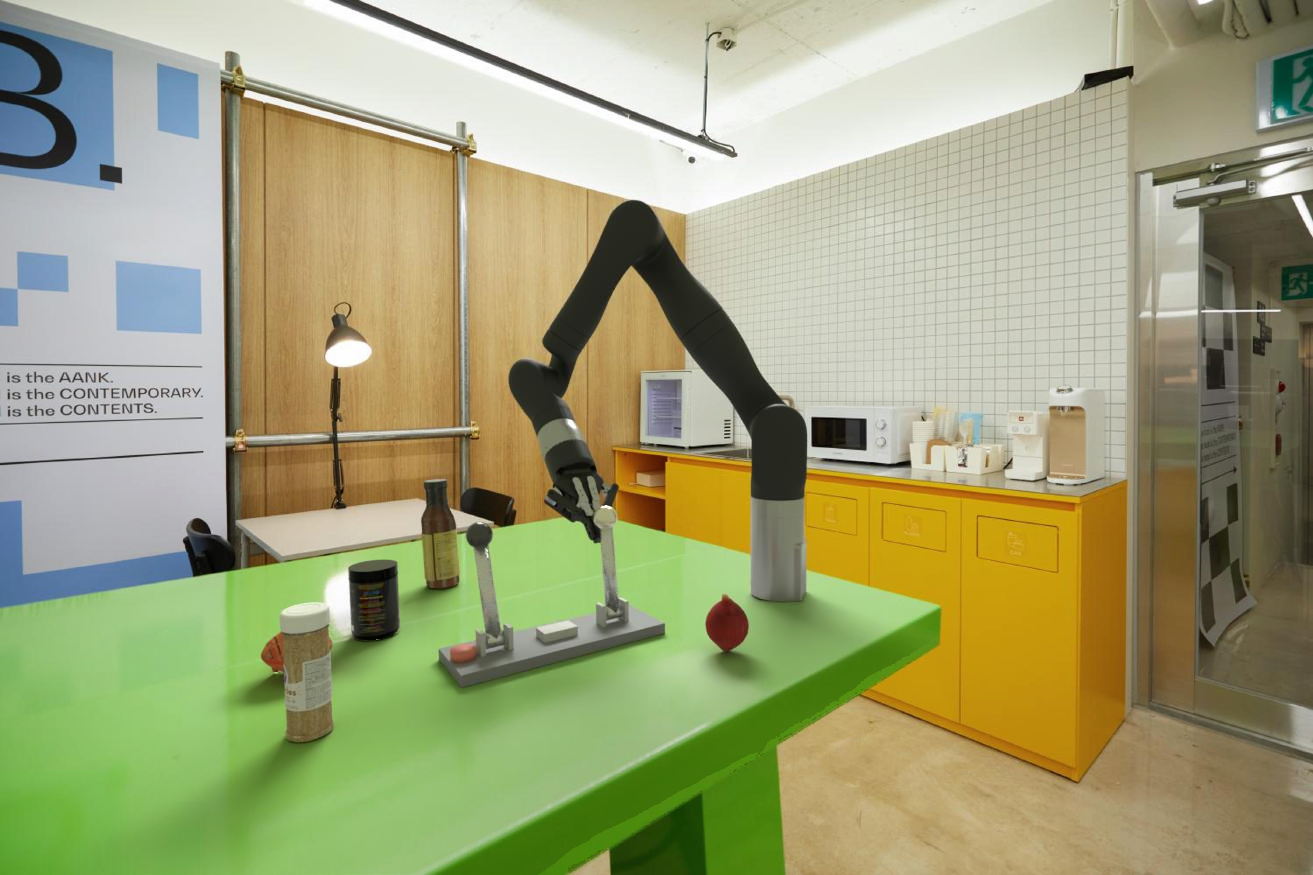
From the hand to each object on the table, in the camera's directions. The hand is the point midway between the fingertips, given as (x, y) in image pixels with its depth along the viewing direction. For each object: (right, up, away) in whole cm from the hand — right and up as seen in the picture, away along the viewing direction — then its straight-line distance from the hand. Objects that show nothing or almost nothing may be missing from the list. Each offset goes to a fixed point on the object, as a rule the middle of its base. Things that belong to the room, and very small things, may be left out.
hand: (601, 539), depth 96 cm
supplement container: (-34, -14, -1) cm, 36 cm away
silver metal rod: (-13, -11, -12) cm, 21 cm away
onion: (+18, -14, -9) cm, 25 cm away
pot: (-38, -15, -15) cm, 43 cm away
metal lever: (+2, -10, -2) cm, 11 cm away
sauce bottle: (-32, -12, +23) cm, 41 cm away
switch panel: (-6, -14, -7) cm, 16 cm away
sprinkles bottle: (-28, -16, -29) cm, 43 cm away
